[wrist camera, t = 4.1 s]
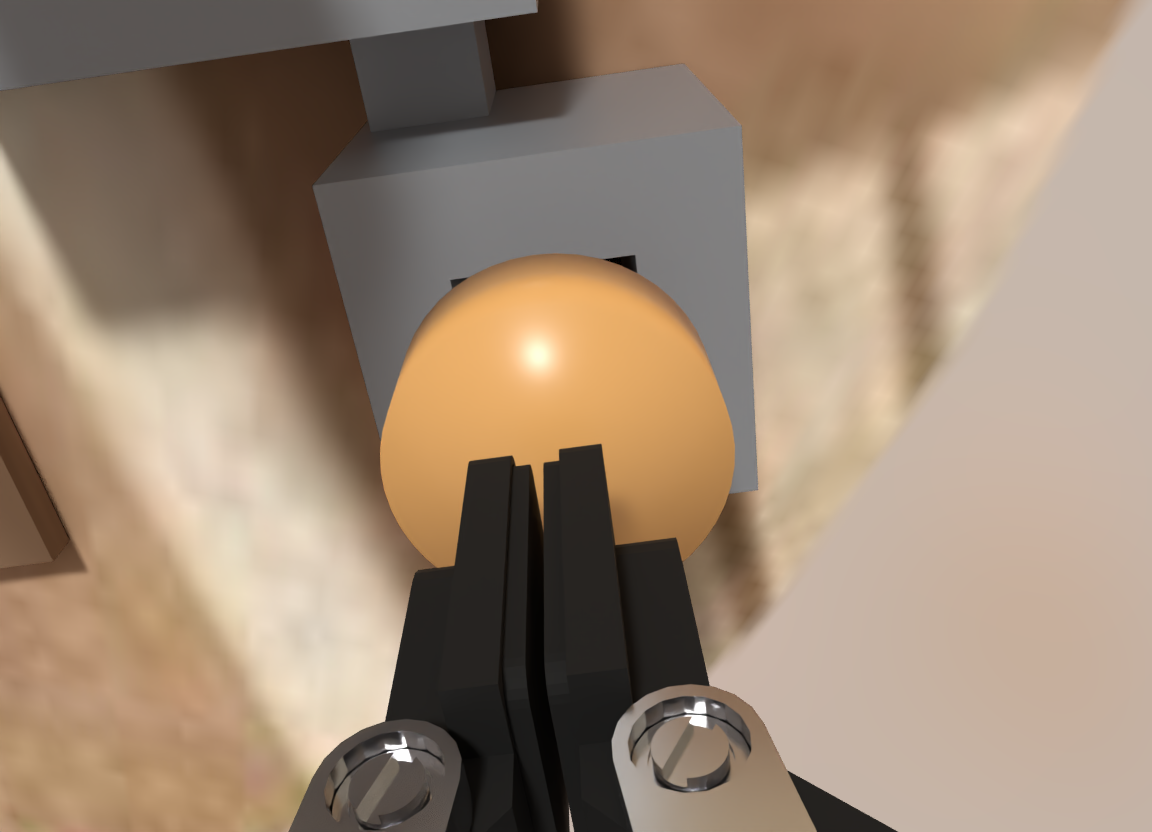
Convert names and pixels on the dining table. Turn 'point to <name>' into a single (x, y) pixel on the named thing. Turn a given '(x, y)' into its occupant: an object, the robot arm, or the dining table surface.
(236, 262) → the dining table surface
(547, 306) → the orange egg-shaped ball
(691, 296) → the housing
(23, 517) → the pad
